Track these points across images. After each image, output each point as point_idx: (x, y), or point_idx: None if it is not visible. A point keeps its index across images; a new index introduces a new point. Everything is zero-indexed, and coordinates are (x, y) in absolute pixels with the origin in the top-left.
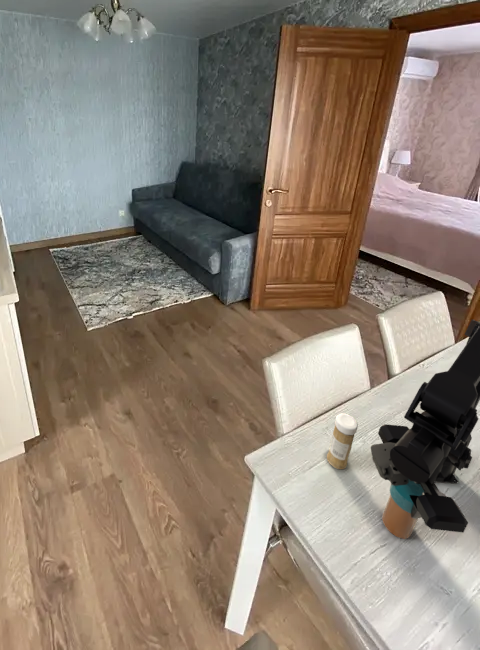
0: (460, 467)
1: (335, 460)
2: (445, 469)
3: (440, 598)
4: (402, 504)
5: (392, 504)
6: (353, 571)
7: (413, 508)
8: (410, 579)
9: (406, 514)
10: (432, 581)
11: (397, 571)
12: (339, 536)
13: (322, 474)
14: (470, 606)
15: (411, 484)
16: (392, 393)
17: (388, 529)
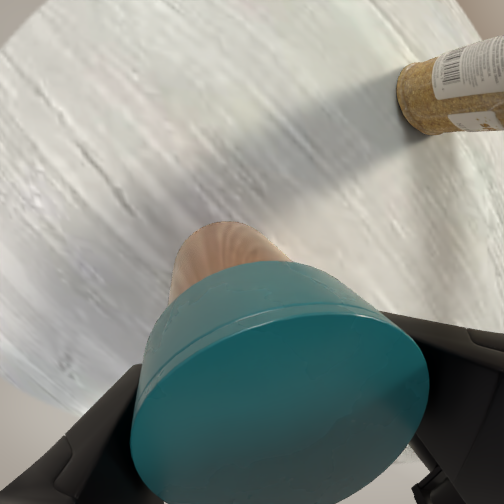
0: (418, 498)
1: (423, 69)
2: (419, 446)
3: (40, 344)
4: (152, 341)
5: (220, 264)
6: (18, 86)
7: (97, 428)
8: (47, 273)
9: None
10: (72, 339)
11: (53, 235)
12: (115, 40)
13: (356, 26)
14: (63, 406)
15: (335, 456)
16: None
17: (190, 236)
